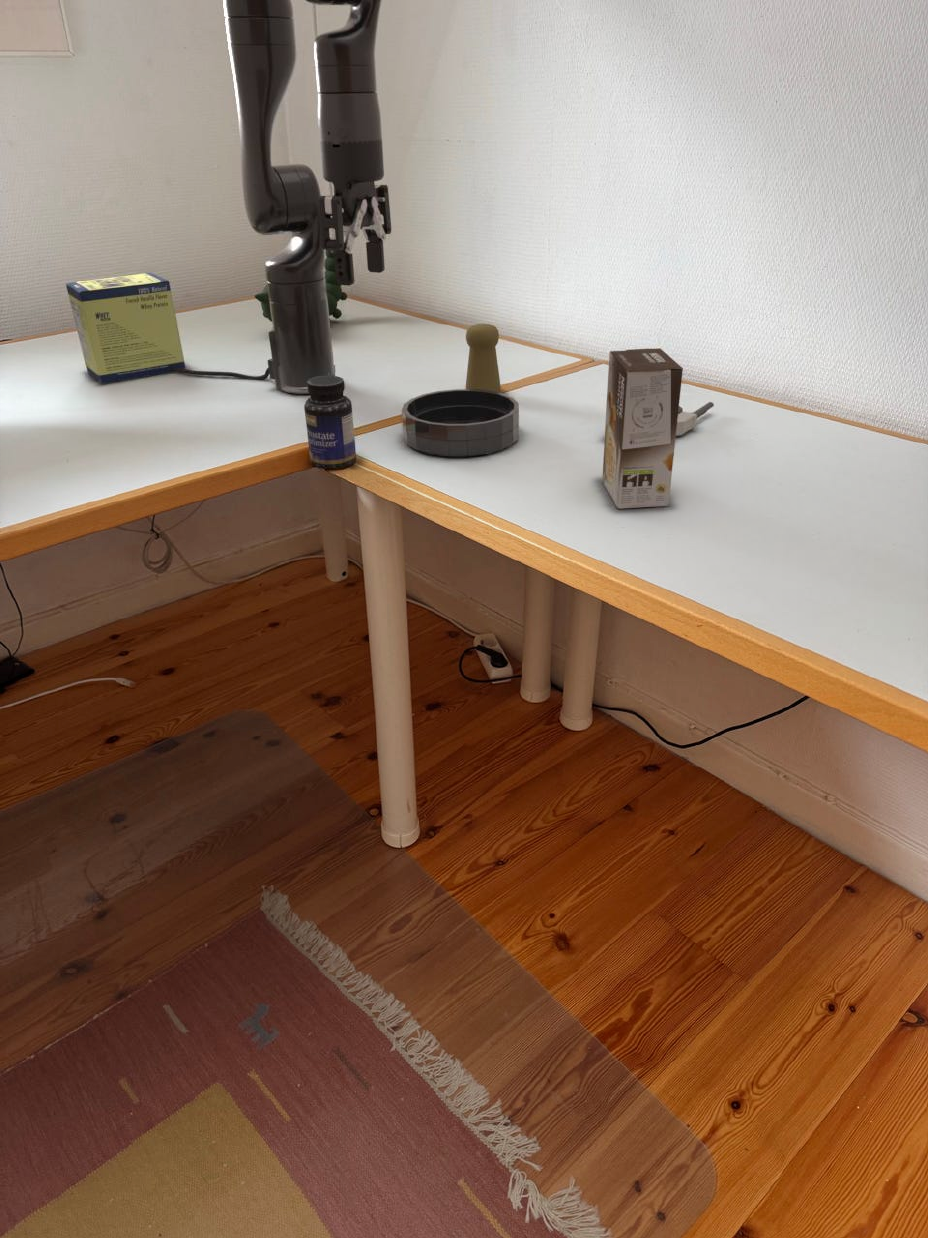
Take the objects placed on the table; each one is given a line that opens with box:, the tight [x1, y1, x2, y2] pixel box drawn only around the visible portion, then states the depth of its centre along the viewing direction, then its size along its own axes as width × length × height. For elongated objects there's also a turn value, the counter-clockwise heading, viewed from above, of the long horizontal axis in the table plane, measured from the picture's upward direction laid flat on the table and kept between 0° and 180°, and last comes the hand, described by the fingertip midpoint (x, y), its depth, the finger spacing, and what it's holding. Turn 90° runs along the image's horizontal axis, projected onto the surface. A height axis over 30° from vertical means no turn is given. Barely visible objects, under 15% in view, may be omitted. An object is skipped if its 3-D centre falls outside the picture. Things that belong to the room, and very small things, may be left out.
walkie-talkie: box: [676, 401, 715, 437], centre depth 121 cm, size 9×4×20 cm
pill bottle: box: [303, 375, 357, 471], centre depth 111 cm, size 6×6×11 cm
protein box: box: [65, 272, 187, 385], centre depth 152 cm, size 10×16×16 cm
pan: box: [401, 388, 520, 458], centre depth 120 cm, size 16×16×5 cm
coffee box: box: [601, 347, 684, 510], centre depth 99 cm, size 9×6×16 cm
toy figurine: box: [254, 237, 348, 325], centre depth 176 cm, size 9×19×25 cm
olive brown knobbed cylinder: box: [464, 323, 502, 393], centre depth 135 cm, size 6×6×11 cm
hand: (361, 278), depth 112 cm, fingers open, 8 cm apart
